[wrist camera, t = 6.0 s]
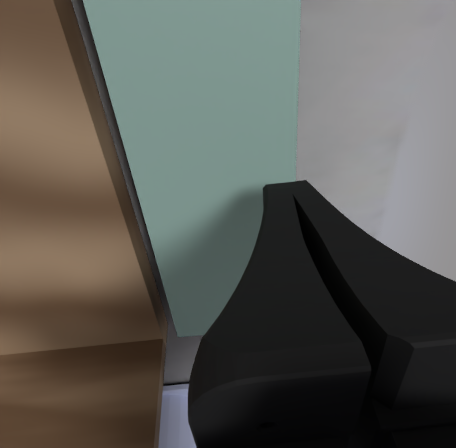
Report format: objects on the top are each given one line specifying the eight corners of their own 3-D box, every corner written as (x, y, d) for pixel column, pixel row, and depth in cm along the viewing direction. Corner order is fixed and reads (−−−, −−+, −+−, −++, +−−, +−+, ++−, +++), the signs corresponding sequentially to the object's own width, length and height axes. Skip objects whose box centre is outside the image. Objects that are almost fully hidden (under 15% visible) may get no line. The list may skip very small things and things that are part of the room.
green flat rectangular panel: (179, 312, 20) (286, 302, 20) (177, 337, 19) (291, 327, 19) (63, -137, 9) (293, -163, 9) (42, -144, 8) (305, -174, 8)
